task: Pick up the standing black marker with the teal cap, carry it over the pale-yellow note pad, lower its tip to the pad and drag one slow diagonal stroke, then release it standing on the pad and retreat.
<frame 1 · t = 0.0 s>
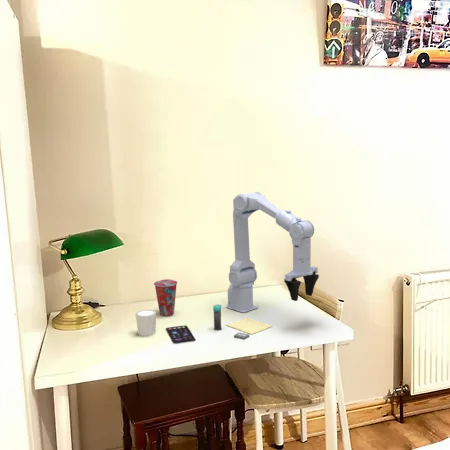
hand: (301, 297, 169), 10 cm above the table, fingers open, 7 cm apart
cup: (166, 314, 186), on the table
word tile: (241, 336, 162), on the table
shot glass: (146, 333, 168), on the table
smartphone: (180, 336, 166), on the table
marker: (217, 328, 170), on the table
note pad: (249, 326, 172), on the table
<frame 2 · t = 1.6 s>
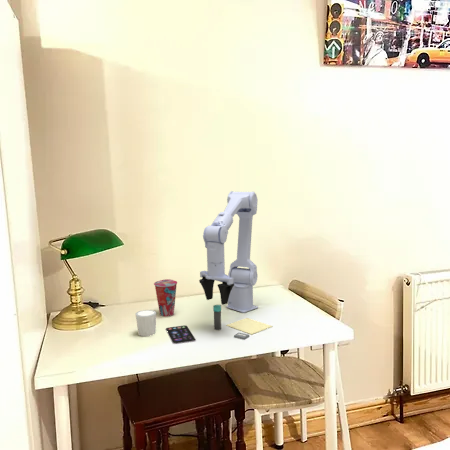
hand: (216, 301, 169), 10 cm above the table, fingers open, 7 cm apart
nothing on the table moved.
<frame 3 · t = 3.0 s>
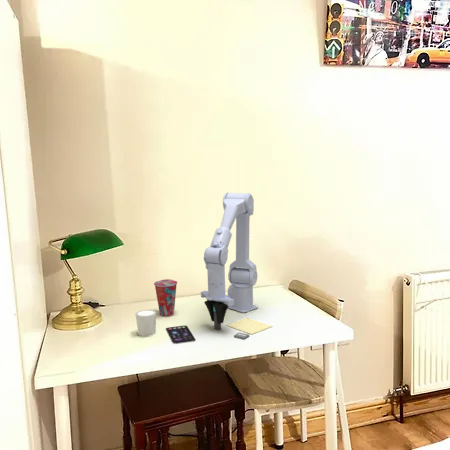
hand: (217, 321, 170), 2 cm above the table, fingers closed on marker, 2 cm apart
marker: (217, 328, 170), on the table, touching gripper
everything else where it was.
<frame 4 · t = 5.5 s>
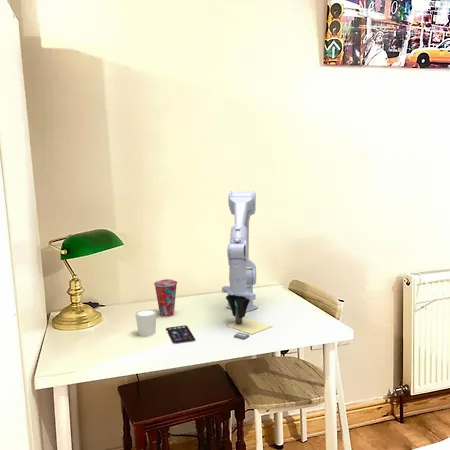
hand: (238, 316, 173), 3 cm above the table, fingers closed on marker, 2 cm apart
marker: (238, 323, 174), resting on note pad, touching gripper
everything else where it was.
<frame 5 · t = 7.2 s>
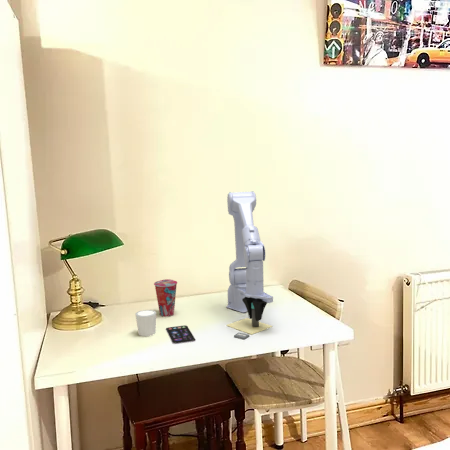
hand: (255, 319, 170), 3 cm above the table, fingers closed on marker, 2 cm apart
marker: (255, 325, 171), resting on note pad, touching gripper
everything else where it was.
when the fingers open (3 cm above the table, at t = 7.9 s): marker stays where it is, resting on note pad.
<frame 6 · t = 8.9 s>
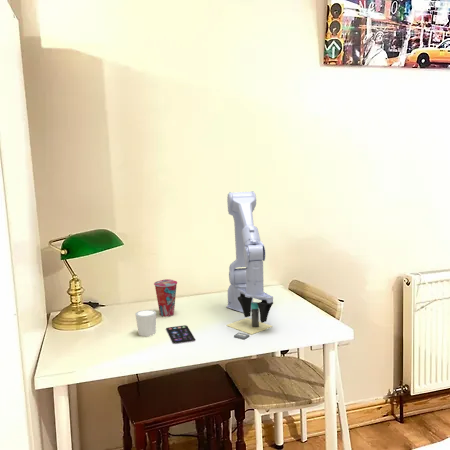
hand: (255, 319, 170), 3 cm above the table, fingers open, 7 cm apart
marker: (255, 326, 171), resting on note pad
everything else where it was.
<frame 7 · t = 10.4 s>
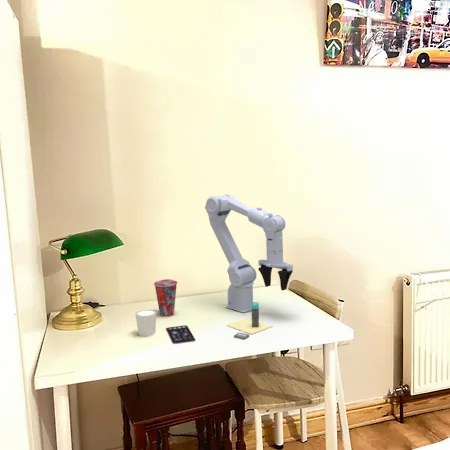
hand: (275, 287, 180), 10 cm above the table, fingers open, 7 cm apart
nothing on the table moved.
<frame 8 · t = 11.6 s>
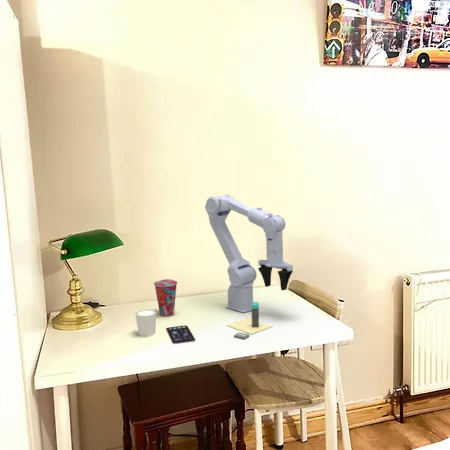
hand: (275, 287, 180), 10 cm above the table, fingers open, 7 cm apart
nothing on the table moved.
at the end: marker inside the target area on the note pad (2.2 cm from its centre), point 0.3 cm above the note pad's base; marker 9.9 cm from the word tile (horizontally); the gripper is holding nothing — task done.
